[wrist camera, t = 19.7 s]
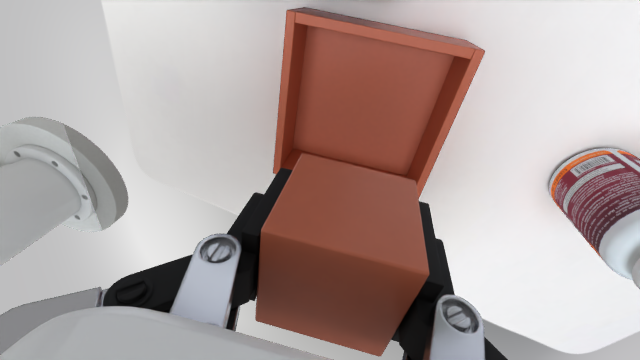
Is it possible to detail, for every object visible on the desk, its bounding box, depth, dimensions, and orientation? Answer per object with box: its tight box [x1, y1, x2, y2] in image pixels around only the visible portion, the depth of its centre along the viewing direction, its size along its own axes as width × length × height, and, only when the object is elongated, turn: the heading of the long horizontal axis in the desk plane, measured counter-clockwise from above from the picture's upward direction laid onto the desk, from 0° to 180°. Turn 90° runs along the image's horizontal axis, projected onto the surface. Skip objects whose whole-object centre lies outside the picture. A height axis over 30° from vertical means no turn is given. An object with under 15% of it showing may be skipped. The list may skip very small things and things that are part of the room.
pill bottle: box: [549, 148, 640, 289], centre depth 20 cm, size 6×6×11 cm
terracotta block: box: [256, 153, 429, 356], centre depth 11 cm, size 4×4×4 cm
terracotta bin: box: [273, 7, 485, 199], centre depth 23 cm, size 12×12×5 cm
